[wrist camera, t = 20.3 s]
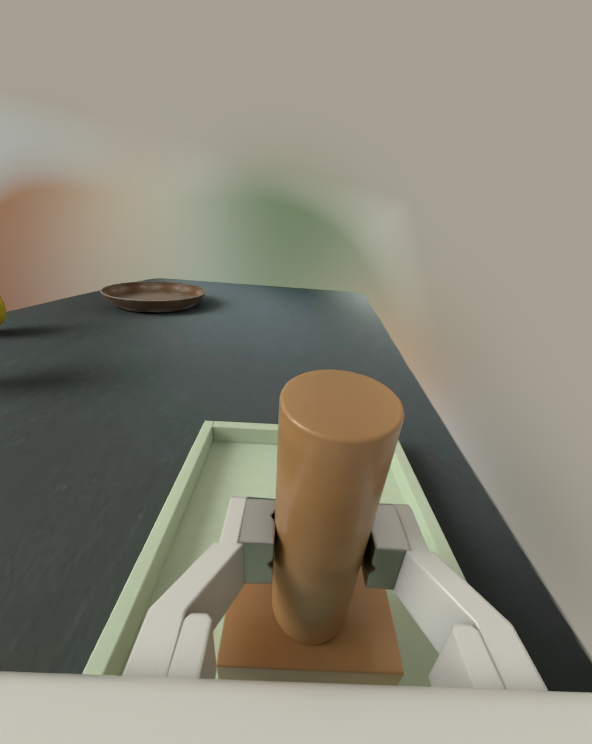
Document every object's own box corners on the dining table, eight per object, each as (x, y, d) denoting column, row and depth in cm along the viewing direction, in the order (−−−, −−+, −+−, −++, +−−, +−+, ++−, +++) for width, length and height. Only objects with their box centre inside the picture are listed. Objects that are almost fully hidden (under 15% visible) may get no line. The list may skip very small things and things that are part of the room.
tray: (388, 450, 26) (393, 430, 25) (817, 1478, 5) (954, 1588, 4) (206, 440, 26) (204, 420, 25) (-255, 1506, 4) (-389, 1633, 3)
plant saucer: (222, 300, 74) (221, 286, 73) (170, 321, 56) (168, 303, 54) (149, 291, 78) (147, 278, 77) (78, 308, 60) (74, 291, 58)
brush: (363, 589, 15) (437, 364, 9) (383, 710, 11) (530, 474, 5) (240, 584, 15) (227, 351, 9) (221, 703, 11) (176, 455, 5)
